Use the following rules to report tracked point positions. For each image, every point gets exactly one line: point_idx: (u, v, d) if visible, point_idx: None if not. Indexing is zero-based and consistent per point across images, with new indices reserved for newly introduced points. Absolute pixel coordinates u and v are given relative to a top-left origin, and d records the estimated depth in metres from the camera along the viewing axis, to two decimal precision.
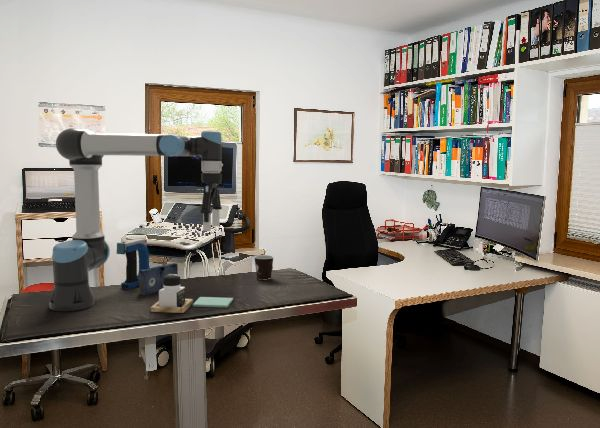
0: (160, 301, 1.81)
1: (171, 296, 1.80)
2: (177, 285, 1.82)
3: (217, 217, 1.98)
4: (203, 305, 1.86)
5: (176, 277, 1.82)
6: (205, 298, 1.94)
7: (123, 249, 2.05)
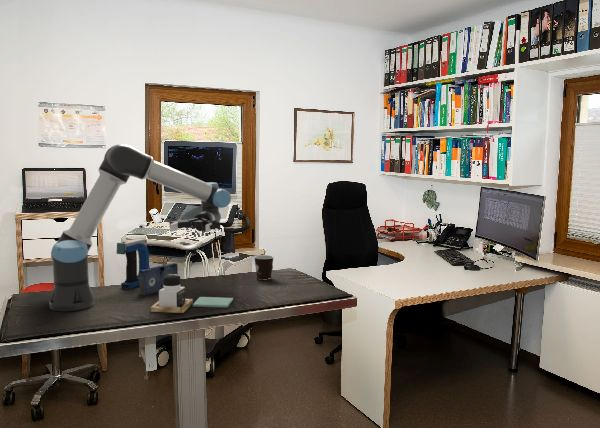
0: (160, 301, 1.81)
1: (171, 296, 1.80)
2: (177, 285, 1.82)
3: (175, 228, 1.94)
4: (203, 305, 1.86)
5: (176, 277, 1.82)
6: (205, 298, 1.94)
7: (123, 249, 2.05)
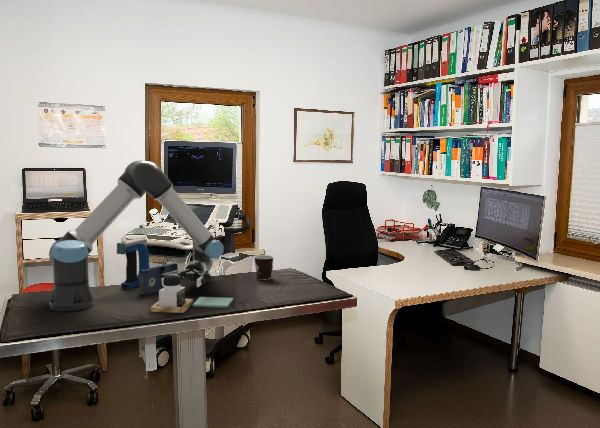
0: (160, 301, 1.81)
1: (171, 296, 1.80)
2: (177, 285, 1.82)
3: None
4: (203, 305, 1.86)
5: (176, 277, 1.82)
6: (205, 298, 1.94)
7: (123, 249, 2.05)
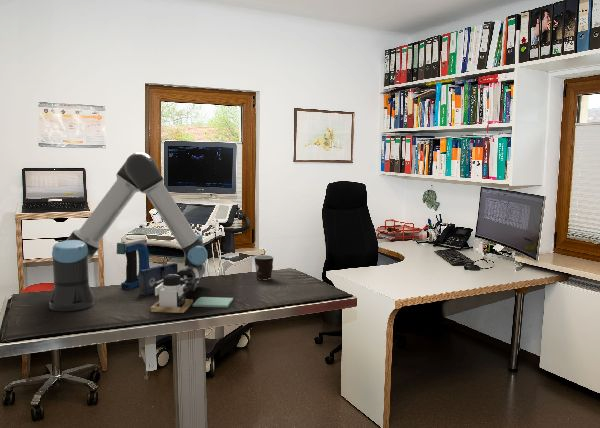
0: (160, 301, 1.81)
1: (172, 296, 1.80)
2: (177, 285, 1.82)
3: None
4: (203, 305, 1.86)
5: (176, 277, 1.82)
6: (205, 298, 1.94)
7: (123, 249, 2.05)
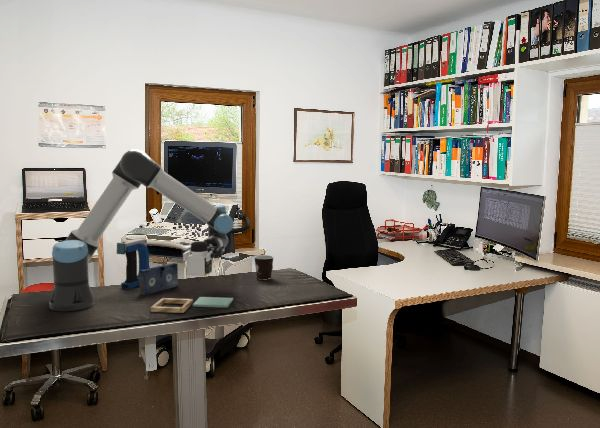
0: (188, 267, 1.84)
1: (199, 261, 1.83)
2: (205, 251, 1.84)
3: None
4: (203, 305, 1.86)
5: (203, 243, 1.84)
6: (205, 298, 1.94)
7: (123, 249, 2.05)
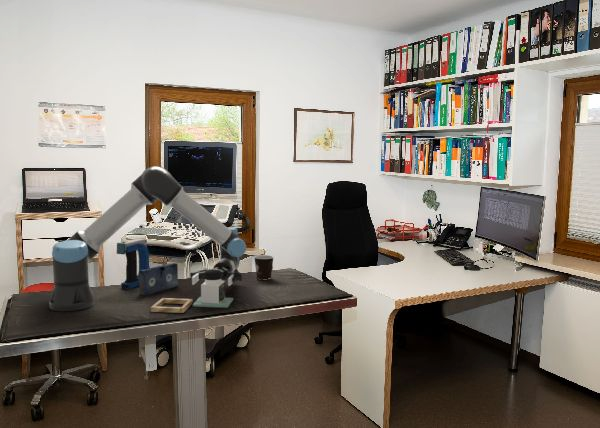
0: (202, 295, 1.87)
1: (214, 290, 1.86)
2: (218, 279, 1.88)
3: (196, 280, 1.90)
4: (203, 305, 1.86)
5: (218, 271, 1.88)
6: None
7: (123, 249, 2.05)
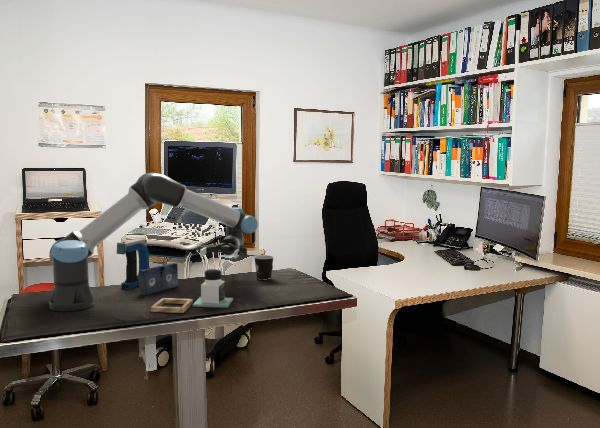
0: (202, 295, 1.87)
1: (214, 290, 1.86)
2: (218, 279, 1.88)
3: (204, 253, 2.03)
4: (203, 305, 1.86)
5: (218, 271, 1.88)
6: None
7: (123, 249, 2.05)
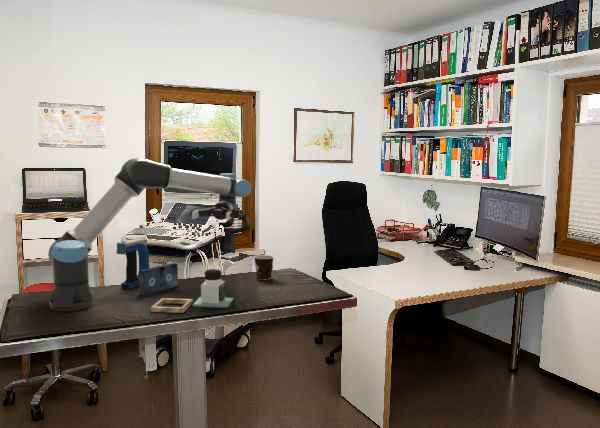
0: (202, 295, 1.87)
1: (214, 290, 1.86)
2: (218, 279, 1.88)
3: (196, 216, 2.01)
4: (203, 305, 1.86)
5: (218, 271, 1.88)
6: None
7: (123, 249, 2.05)
